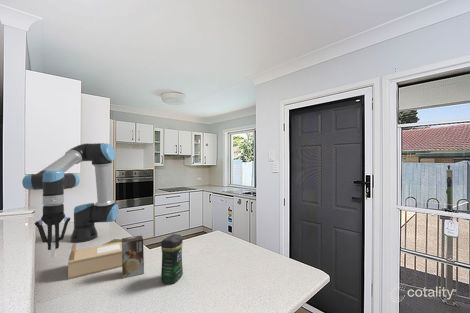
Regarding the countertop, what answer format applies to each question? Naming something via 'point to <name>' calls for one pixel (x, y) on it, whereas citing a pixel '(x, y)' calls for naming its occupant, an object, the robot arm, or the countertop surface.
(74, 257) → the lid
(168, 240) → the coffee jar
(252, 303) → the countertop surface
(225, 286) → the countertop surface
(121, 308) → the countertop surface
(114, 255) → the box
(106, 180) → the robot arm
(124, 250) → the coffee box
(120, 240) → the carton
